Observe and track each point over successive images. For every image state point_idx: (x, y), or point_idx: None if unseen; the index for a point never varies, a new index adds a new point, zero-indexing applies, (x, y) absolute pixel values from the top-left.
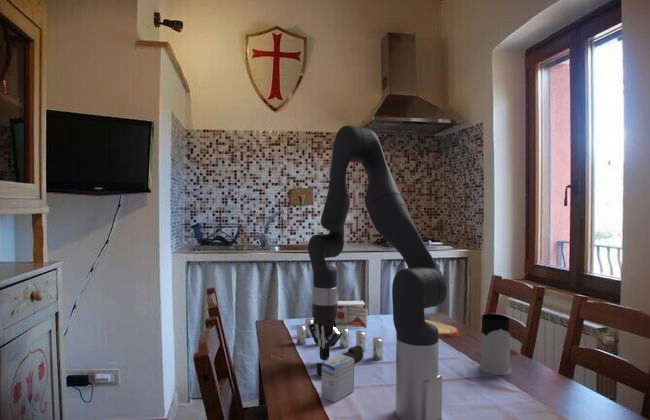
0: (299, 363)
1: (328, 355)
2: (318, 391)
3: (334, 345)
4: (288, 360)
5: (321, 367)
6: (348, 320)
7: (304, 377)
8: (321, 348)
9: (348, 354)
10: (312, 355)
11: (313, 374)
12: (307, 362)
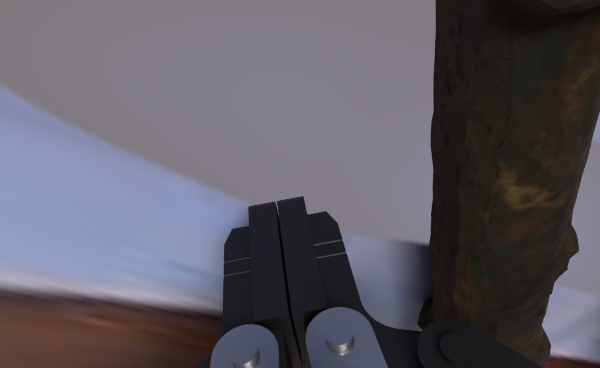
0: (175, 328)
1: (340, 243)
2: (564, 353)
3: (474, 329)
4: (83, 361)
5: None
6: None
7: None
8: (298, 362)
9: (596, 87)
10: (9, 198)
11: (399, 318)
12: (183, 286)
